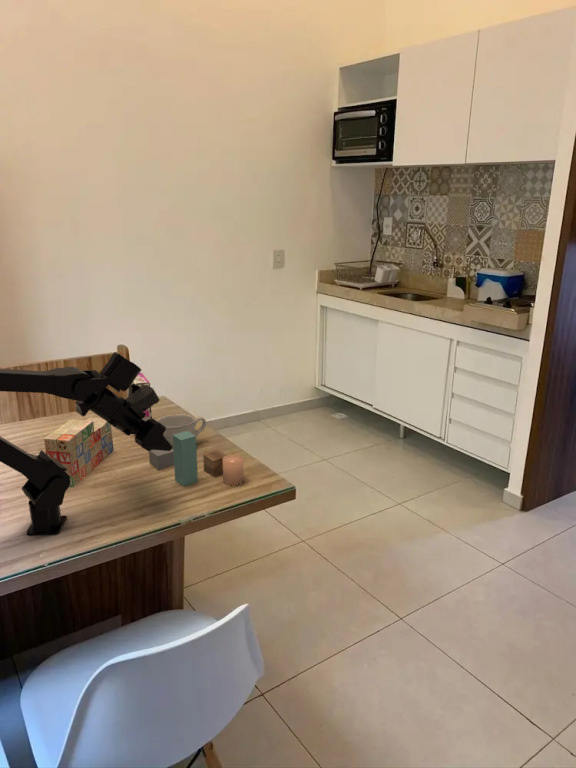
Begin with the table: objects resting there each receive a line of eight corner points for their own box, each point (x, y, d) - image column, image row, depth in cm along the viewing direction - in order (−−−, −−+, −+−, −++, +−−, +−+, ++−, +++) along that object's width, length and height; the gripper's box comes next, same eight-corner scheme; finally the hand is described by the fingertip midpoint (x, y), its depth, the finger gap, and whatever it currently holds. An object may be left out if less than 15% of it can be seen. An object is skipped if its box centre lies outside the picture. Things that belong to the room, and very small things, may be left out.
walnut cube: (213, 477, 143) (212, 460, 141) (203, 470, 146) (203, 454, 145) (228, 472, 145) (228, 456, 144) (219, 466, 149) (218, 450, 147)
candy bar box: (154, 436, 166) (150, 382, 161) (136, 439, 164) (132, 384, 159) (145, 423, 176) (142, 371, 170) (129, 426, 174) (125, 373, 168)
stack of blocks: (92, 448, 158) (88, 406, 154) (114, 450, 157) (110, 408, 153) (49, 485, 138) (43, 437, 134) (73, 487, 137) (68, 439, 133)
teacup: (157, 456, 154) (156, 428, 151) (155, 440, 163) (153, 414, 161) (210, 451, 157) (209, 423, 155) (204, 436, 167) (204, 410, 165)
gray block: (158, 470, 146) (157, 456, 145) (149, 463, 150) (148, 449, 149) (176, 465, 149) (175, 451, 148) (167, 458, 153) (166, 444, 152)
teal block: (183, 486, 138) (181, 440, 134) (175, 480, 141) (172, 434, 137) (197, 481, 140) (196, 436, 137) (189, 475, 143) (187, 430, 140)
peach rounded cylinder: (243, 485, 139) (243, 462, 137) (222, 486, 138) (222, 463, 136) (243, 476, 143) (243, 454, 142) (223, 476, 143) (222, 454, 141)
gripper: (154, 388, 118) (203, 425, 128) (116, 367, 132) (163, 402, 142) (120, 433, 116) (173, 467, 126) (85, 407, 129) (135, 440, 140)
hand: (161, 442), depth 133 cm, fingers open, 9 cm apart
